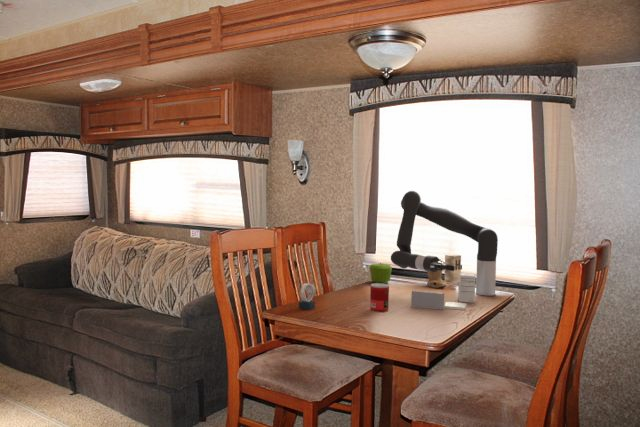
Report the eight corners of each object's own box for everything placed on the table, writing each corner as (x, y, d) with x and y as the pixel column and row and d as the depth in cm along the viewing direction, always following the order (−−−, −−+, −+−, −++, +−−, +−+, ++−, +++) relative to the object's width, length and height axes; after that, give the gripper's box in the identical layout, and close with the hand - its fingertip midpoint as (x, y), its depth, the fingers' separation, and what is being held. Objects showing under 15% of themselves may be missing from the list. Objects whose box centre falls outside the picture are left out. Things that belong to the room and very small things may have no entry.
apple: (385, 285, 284) (385, 265, 284) (365, 283, 291) (365, 263, 291) (395, 282, 295) (395, 262, 294) (375, 280, 302) (376, 260, 301)
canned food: (387, 312, 222) (388, 286, 222) (369, 311, 224) (369, 285, 223) (389, 308, 230) (389, 283, 229) (371, 307, 232) (371, 282, 231)
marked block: (444, 281, 235) (445, 255, 235) (451, 280, 238) (451, 254, 238) (454, 283, 231) (454, 256, 231) (461, 282, 234) (461, 255, 234)
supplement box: (457, 298, 253) (458, 272, 252) (473, 299, 251) (474, 273, 251) (458, 301, 246) (459, 275, 245) (474, 302, 244) (475, 275, 243)
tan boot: (426, 282, 295) (426, 256, 294) (447, 284, 291) (448, 257, 290) (421, 287, 281) (422, 259, 280) (444, 289, 277) (444, 261, 276)
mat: (446, 304, 240) (446, 301, 240) (466, 305, 237) (466, 303, 237) (444, 308, 232) (444, 305, 232) (465, 309, 229) (465, 307, 229)
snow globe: (316, 307, 230) (317, 282, 229) (307, 311, 223) (307, 285, 222) (306, 305, 233) (306, 281, 232) (296, 309, 226) (296, 284, 225)
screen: (411, 306, 235) (412, 290, 235) (443, 308, 230) (444, 293, 230) (411, 306, 233) (411, 291, 233) (443, 309, 229) (443, 293, 228)
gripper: (417, 256, 241) (448, 260, 228) (437, 254, 250) (467, 258, 237) (417, 272, 241) (447, 277, 228) (436, 269, 250) (467, 274, 237)
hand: (457, 267), depth 233 cm, fingers closed on marked block, 5 cm apart
